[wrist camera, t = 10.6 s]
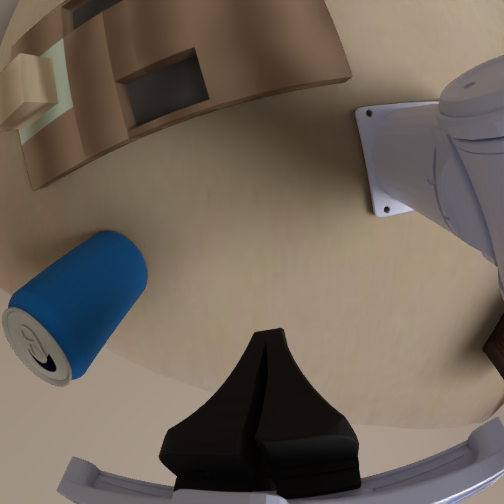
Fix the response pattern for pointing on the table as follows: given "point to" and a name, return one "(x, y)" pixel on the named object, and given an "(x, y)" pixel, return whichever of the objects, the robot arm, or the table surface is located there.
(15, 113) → the block
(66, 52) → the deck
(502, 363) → the coffee grinder
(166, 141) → the table surface
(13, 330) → the beverage can
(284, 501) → the robot arm
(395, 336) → the table surface
